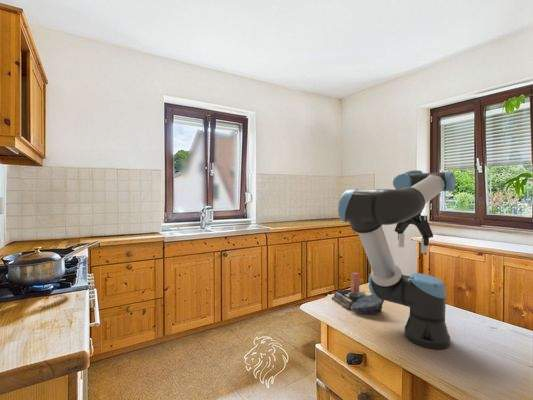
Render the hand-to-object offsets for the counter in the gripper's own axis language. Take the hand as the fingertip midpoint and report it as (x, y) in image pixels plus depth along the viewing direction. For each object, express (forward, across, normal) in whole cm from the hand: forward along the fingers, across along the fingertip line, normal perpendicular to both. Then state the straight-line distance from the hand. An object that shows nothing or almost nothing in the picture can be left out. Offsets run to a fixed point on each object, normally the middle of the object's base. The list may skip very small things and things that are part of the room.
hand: (412, 249), depth 131 cm
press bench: (+29, +16, +20) cm, 39 cm away
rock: (+29, +4, +20) cm, 36 cm away
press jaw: (+28, +15, +20) cm, 37 cm away
